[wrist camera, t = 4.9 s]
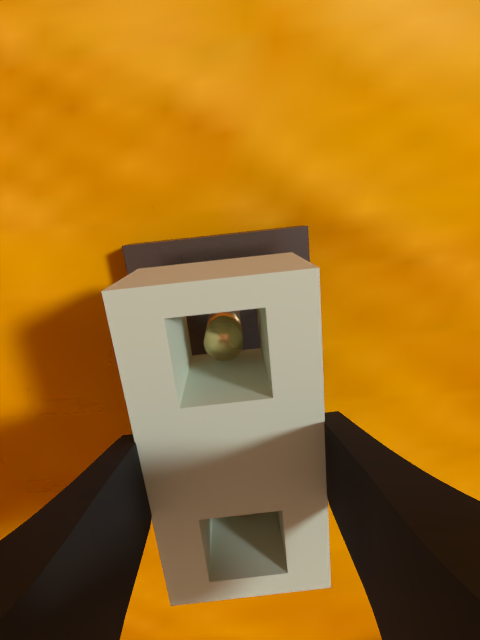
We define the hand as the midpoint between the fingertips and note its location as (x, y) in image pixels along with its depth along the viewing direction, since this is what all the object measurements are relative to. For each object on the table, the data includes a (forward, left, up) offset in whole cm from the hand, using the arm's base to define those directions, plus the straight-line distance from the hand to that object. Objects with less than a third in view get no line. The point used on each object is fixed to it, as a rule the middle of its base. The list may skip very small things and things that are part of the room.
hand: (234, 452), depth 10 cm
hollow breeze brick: (0, 0, -3) cm, 3 cm away
